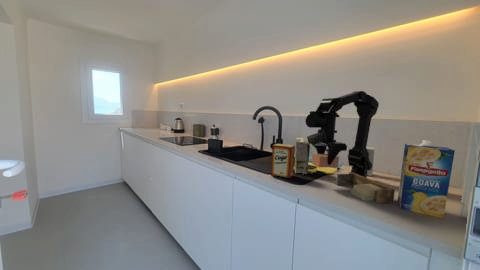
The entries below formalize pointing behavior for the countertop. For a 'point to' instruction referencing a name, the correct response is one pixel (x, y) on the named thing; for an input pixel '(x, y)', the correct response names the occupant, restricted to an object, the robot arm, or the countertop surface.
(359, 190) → the pale green block
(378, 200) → the shelf wall
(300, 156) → the grey drink carton
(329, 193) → the countertop surface
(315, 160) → the reddish brown block
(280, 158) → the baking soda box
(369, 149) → the skincare box
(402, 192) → the beverage box
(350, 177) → the bookend
